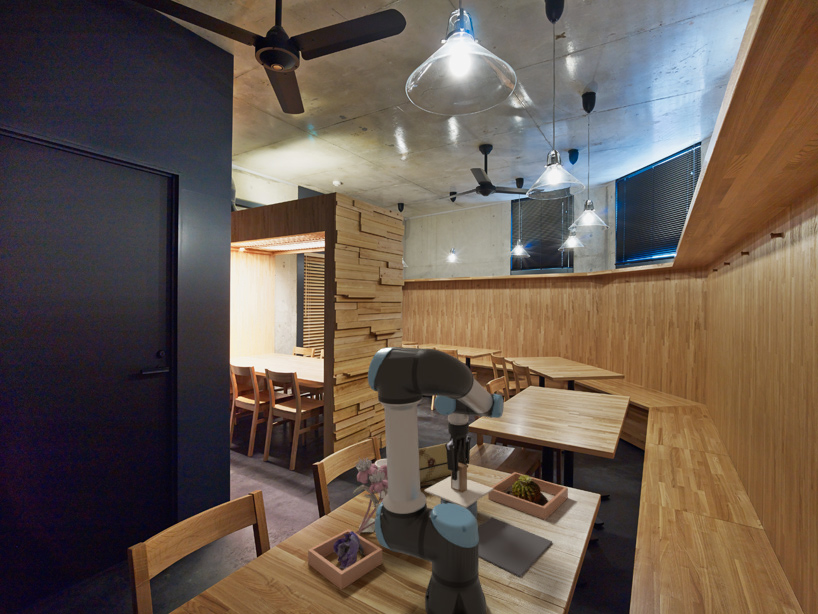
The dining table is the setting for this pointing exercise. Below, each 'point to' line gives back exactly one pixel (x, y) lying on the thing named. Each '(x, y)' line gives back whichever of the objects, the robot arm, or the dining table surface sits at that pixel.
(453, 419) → the robot arm
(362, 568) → the flower tray
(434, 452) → the clutch purse
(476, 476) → the dining table surface
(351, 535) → the flower
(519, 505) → the cactus tray
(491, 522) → the rubber mat
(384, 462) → the foam cup
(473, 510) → the bowl
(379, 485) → the flower
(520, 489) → the cactus
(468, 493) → the board
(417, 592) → the dining table surface
